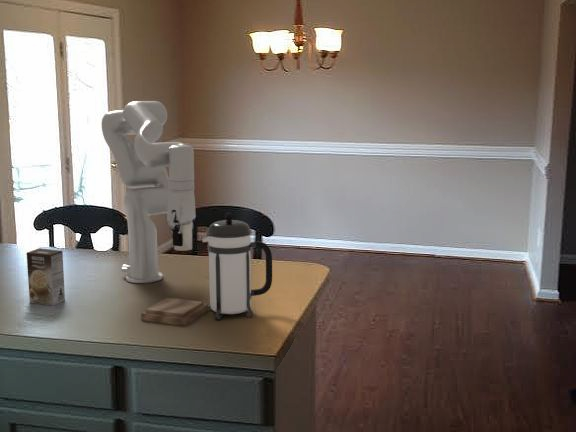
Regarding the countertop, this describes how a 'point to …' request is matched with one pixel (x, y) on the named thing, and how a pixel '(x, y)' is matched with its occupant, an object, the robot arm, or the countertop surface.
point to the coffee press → (233, 267)
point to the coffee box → (45, 276)
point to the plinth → (174, 311)
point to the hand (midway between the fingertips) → (182, 242)
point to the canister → (185, 237)
